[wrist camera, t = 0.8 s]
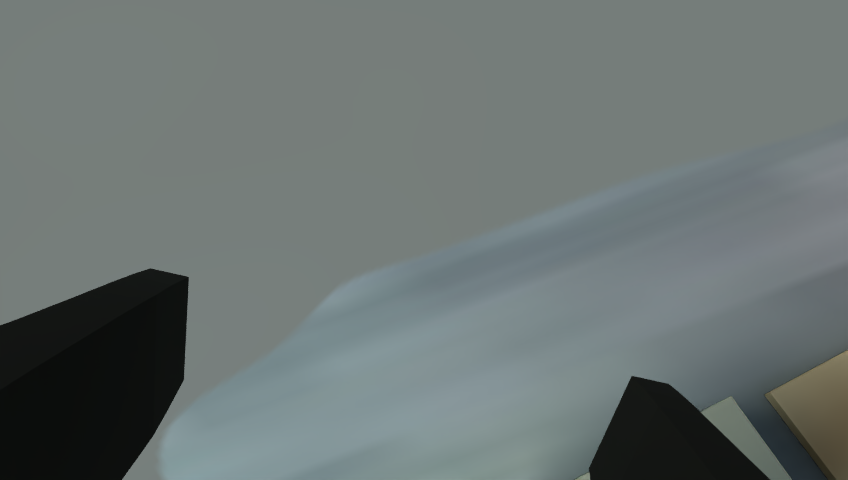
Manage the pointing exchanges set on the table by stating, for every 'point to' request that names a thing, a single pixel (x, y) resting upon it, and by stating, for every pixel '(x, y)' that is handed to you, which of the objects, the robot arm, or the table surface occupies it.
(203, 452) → the table surface
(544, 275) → the table surface
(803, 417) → the coaster
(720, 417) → the housing
